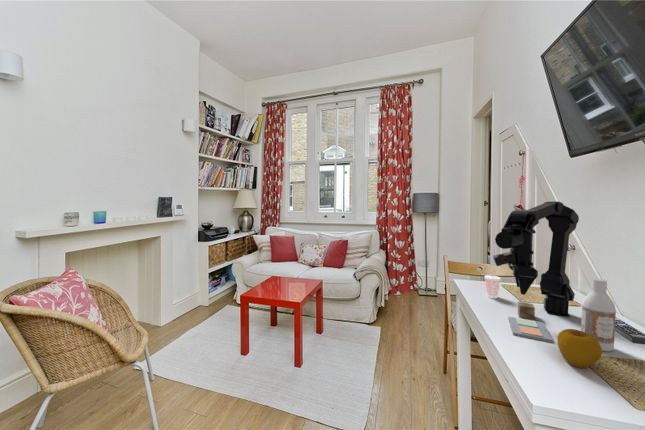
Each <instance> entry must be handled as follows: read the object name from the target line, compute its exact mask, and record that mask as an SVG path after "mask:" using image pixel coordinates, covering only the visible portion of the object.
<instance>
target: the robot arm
mask: <svg viewBox="0 0 645 430" xmlns="http://www.w3.org/2000/svg"><path fill="white" fill-rule="evenodd" d="M543 219H545V220H546V221H548V222H547V223H548V228H549V230H550V231H551V232H552V237H551V246H550V252H549V253H550V254H549V261H548V269H547V271H545V272H544V273H541V275H540V277H541V278H540V281H539V287H540V288H539V289H540V293H541V295H544V296H545V297H544V298H543V309H544V310H545V311H546V313H547V314H549V315H556V316H562V317H569V318H570V316H571V315H570V314H569V307H570V305H569V304H570V303H569V302H570V301H571V302H574V299H575V295H576V294H575V291H574V290H573V288H572V286H570V283H571V282H570V279H569V276H568V275H567V273H566V266H567V259H568V258H567V256H568V250H569V240H570V235H571V234H572V233H573V232H574V231H575V230H576V229H577V225H578V224H579V223H578V222H579V221H580V218H579V215H578V214H577V212H576V211H575V210H574V208H571V207H568V206H566V205H565V204H564V203H563V202H560V201H545V202H544V203H542V204H539V205H537V206H534V207H531V208H528V209H518V210H517V209H515V210H512V211H511V212H510V214H509V215H508V217H507V219H506V221H505V223H504V225H503V228H501V231H500V232H498V233H497V234H496V235H495V238H494V241H495V244H496V246H498V247H499V248H500V249H502V250H504V249H505V250H507V249H509V252H504V253H498V254H494V255H492V258H493V261H494V263H495V265H496V266H497V267H500V266H502V265H508V267H509V268H510V270H511V271H512V275H513V277H514V279H515V284H516V287H517V288H519V290H520V291H519V292H520V295H524V296H525V295H526V294H527V292H528V290H529V289H530V287H531V286H532V284H533V283H534V281H536V280H537V278H538V276H539V271H538V270H537V269H536V268H535V267H534V263H533V255H534V250H533V234H536V230H535V229H533V228H535V227H536V226H537V225H539V224H540V220H543Z"/></svg>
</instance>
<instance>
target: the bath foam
mask: <svg viewBox="0 0 645 430" xmlns="http://www.w3.org/2000/svg"><path fill="white" fill-rule="evenodd" d="M607 287H608V281H607V280H606V279H602V278H592V287H591V289H592V290H591V291H590V292H589V293H588V294H587V295H586V296H585V297H584V299H583V301H582V304H581V325H580V326H581V327H580V328H581V330H580V331H582V332H585V333H587V334H589V335H591V336H593V337H594V338H595V339H596V340H597V341H598V342H599V344H600V346H601V349H602V352H613V351H614V349H615V338H616V335H615V334H616V333H615V331H616V313H617V311H616V306H615V303H614V301H613V300H612V297H610V296H609V294H608V293H607Z"/></svg>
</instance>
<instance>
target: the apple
mask: <svg viewBox="0 0 645 430" xmlns="http://www.w3.org/2000/svg"><path fill="white" fill-rule="evenodd" d="M556 339H557V347H558V350H559V352H560V355H561V356H562V357H563V359H564V360H565V361H566V362H567V363H568V364H570V365H571V366H574V367H577V368H580V369H584V368H586V369H587V368H589V367H591V366H593V365H594V364H596V363H597V362H598V361H599V360H600V359H601V358H602V355H603V351H602V349H601V346H600V344H599V342H598V341H597V340H596V339H595V338H594V337H593V336H591V335H589V334H587V333H585V332H582V331H581V330H579V329H574V328H566V329H562V330H561V331H560V332H559V333H558V334H557V337H556Z"/></svg>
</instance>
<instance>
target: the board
mask: <svg viewBox="0 0 645 430" xmlns="http://www.w3.org/2000/svg"><path fill="white" fill-rule="evenodd" d="M507 319H508V323H509V325H510V326H509V327H510V330H511V332H512V333H511V334H512V335H513V336H518V337H523V338H528V339H532V340H537V341H542V342H543V341H544V342H548V343H553V341H554V339H553V338H552V336H551V334H550V332H549V331H548V329H547V328H546V326H545V323H544V322H542V321H537V320H533V319H527V318H521V317H513V316H507Z"/></svg>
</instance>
